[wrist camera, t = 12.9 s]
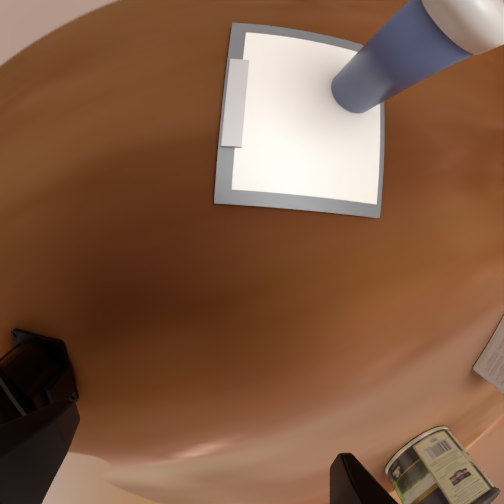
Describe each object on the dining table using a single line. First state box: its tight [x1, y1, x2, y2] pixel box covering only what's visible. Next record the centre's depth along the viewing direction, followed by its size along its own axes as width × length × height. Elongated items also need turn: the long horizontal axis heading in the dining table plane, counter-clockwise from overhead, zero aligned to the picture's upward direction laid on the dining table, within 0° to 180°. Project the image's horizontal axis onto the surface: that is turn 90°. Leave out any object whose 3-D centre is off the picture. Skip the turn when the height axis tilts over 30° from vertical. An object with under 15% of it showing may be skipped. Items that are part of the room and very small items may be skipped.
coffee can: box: [385, 426, 500, 504], centre depth 18 cm, size 10×10×14 cm
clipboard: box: [214, 23, 384, 218], centre depth 16 cm, size 11×13×1 cm
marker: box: [331, 0, 504, 113], centre depth 10 cm, size 3×3×13 cm
